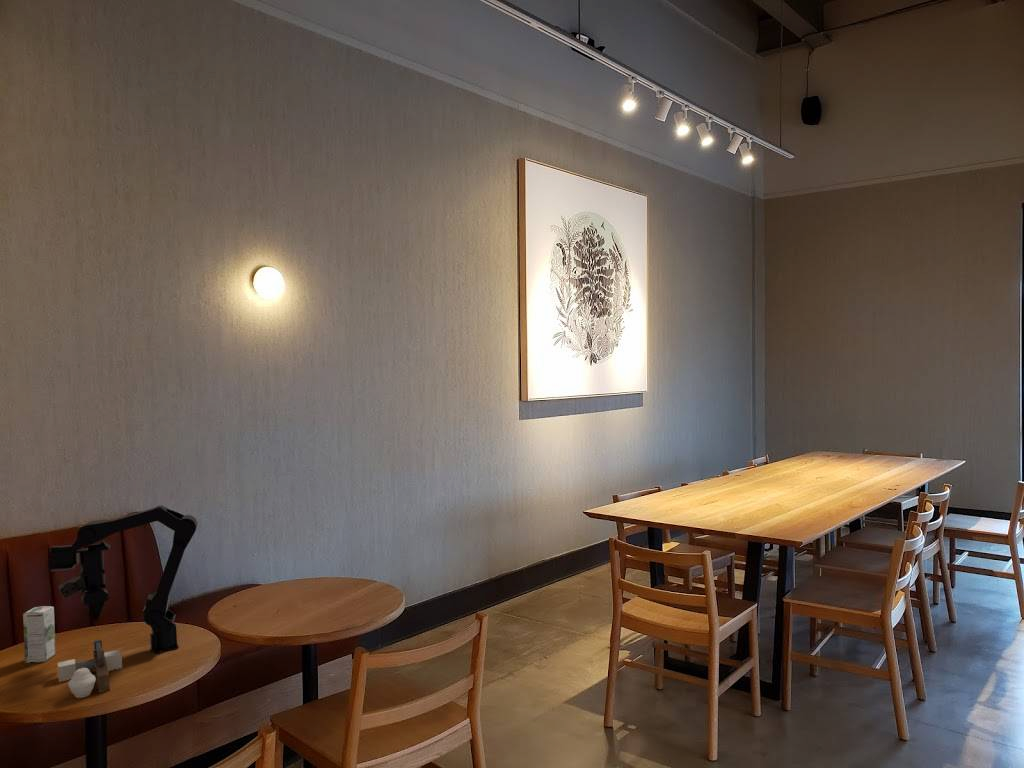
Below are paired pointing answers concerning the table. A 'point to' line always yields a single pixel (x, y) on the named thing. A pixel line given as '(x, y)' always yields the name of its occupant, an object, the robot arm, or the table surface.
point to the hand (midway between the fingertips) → (95, 620)
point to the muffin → (82, 683)
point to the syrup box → (39, 634)
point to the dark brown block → (102, 674)
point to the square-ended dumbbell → (88, 665)
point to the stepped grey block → (99, 651)
